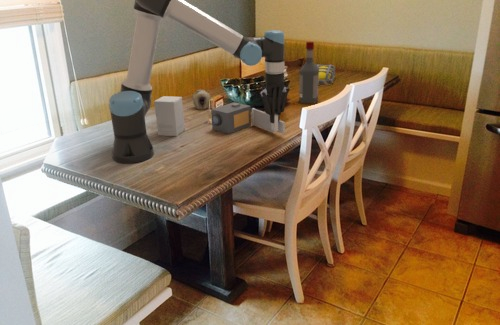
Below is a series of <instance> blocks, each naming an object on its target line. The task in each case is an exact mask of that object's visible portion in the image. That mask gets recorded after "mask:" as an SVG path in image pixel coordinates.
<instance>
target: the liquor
mask: <svg viewBox="0 0 500 325" xmlns="http://www.w3.org/2000/svg"><path fill="white" fill-rule="evenodd" d="M305 43H306V45H305V49H306V58H305V59H306V60H305V62H304V64H303V65H302V66H301V68H300V69H299V83H298V85H299V86H298V88H299V89H298V90H299V91H298V92H299V93H298V94H299V95H298V96H299V97H298V100H299V101H298V102H299V103H301V102H302V103H301V104H307V103H313V104H315V103H314V102H316V103H317V101H318V100H319V86H318V84H319V68H318V67H317V64H316V63H315V62H314V48H315V45H314V44H315V42H314V41H306V42H305Z"/></svg>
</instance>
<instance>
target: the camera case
mask: <svg viewBox="0 0 500 325" xmlns="http://www.w3.org/2000/svg"><path fill="white" fill-rule="evenodd" d="M210 110H211V128H212V130H214V131H217V132H221V133H225V134H232V133H235V132H237V131H241V130H243V129H246V128H248V127H251V126H252V108H251V105H249V104H244V103H240V102H239V103H238V102H235V101H234V102H230V103H227V104H224V105H220V106H216V107H213V108H211V109H210Z"/></svg>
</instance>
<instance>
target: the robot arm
mask: <svg viewBox="0 0 500 325" xmlns="http://www.w3.org/2000/svg"><path fill="white" fill-rule="evenodd" d="M133 11H134V12H135V14H136V20H135V25H134V33H133V38H132V43H131V49H130V50H131V51H130V57H129V61H128V62H129V63H128V68H127V75H126V78H124V79H123V80H122V81H121V84H120V91H119V92H117V93H113V94H112V95H111V96H110V97H109V101H108V102H109V103H108V104H109V105H108V107H109V110H110V117H111V123H112V130H113V135H114V136H113V137H114V140H113V145H112V149H111V150H112V151H111V155H112V160H113V161H114V162H116V163H121V164H135V163H141V162H143V161H147V160H149V159H151V158H152V157H154V154H155V152H154V147H153V144H152V143H151V140H150V138H149V136H148V134H147V127H146V125H147V124H146V115H147V113H148V112H149V110H150V109H151V104H152V94H153V93H152V92H153V86H152V85H151V84H150V82H151V77H152V70H153V66H154V61H155V55H156V50H157V44H158V38H159V32H160V28H161V21H162V20H164V19H166V18H169V19H170V20H172V21H174V22H176V23H177V24H179V25H181V26H183V27H184V28H186V29H187V30H189V31H191V32H192V33H194V34H196V35H198V36H200V37H201V38H202V39H204V40H206V41H208V42H210V43H212V44H213V45H215V46H217V47H219V48H221V49H222V50H223V51H226V52H227V53H229V54H230V55H232V56H233V57H234V58H235V59H239V60H240V61H242V63H243V64H245V65H246V66H255V65H258V64H259V63H260V62H261V60H262V58H264V71H265V73H264V82H265V84H264V89H263V90H261V91H259V95H260V97H261V99H262V103H263V108H264V112H265V113H266V114H269V115H270V122H271V125H272V130H274V132H277V131H278V122H279V121H281V120H280V118H281V117H280V116H281V115H282V113H284V112H285V108H286V102H287V99H288V94H289V92H290V88H289V87H286V85H285V44H286V42H285V33H284V32H283V31H282V30H278V29H277V30H276V29H275V30H274V29H273V30H271V29H270V30H266V31H265V32H264V35H263V36H253V37H252V36H249V37H248V36H247V37H246V36H244V35H242V34H241V33H240V32H238V31H236V30H234V29H232V28H231V27H230V26H228V25H226V24H224V23H223V22H221V21H219V20H217V19H216V18H215V17H213V16H211V15H209V14H208V13H206V12H205V11H203V10H201V9H200V8H198V7H196V6H195V5H193V4H191V3H189V2H188V1H187V0H134V5H133ZM267 95H268V96H267Z"/></svg>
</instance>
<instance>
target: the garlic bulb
mask: <svg viewBox="0 0 500 325" xmlns="http://www.w3.org/2000/svg"><path fill="white" fill-rule="evenodd" d="M192 95H193V96H192V101H193V102H192V104H193V106H194V108H196V109H197V110H199V111H200V110H201V111H202V110H206V109H207V108H209V107H210V106H209V100H210V99H211V100H212V98H211V95H210V93H209V92H207V91H206V90H205V89H197V90H196V91H195V92H194V94H192Z"/></svg>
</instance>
